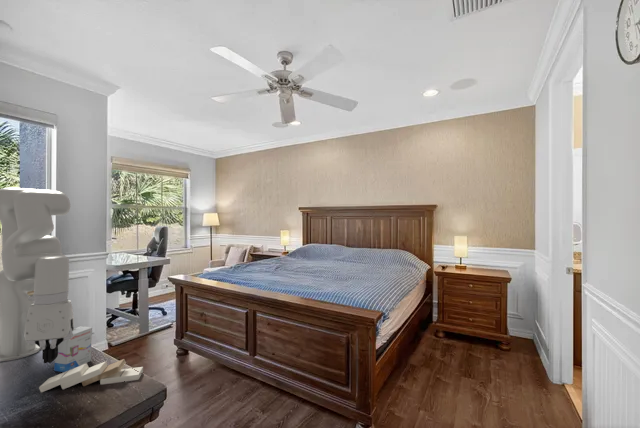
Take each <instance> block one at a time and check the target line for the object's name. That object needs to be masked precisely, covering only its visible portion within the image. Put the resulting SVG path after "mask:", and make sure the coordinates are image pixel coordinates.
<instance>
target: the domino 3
mask: <svg viewBox="0 0 640 428" xmlns="http://www.w3.org/2000/svg"><path fill="white" fill-rule="evenodd" d="M124 364H125V365H126V364H127V362H126V360H125V358H123V359H120V360H117V361H115V362H113V363H111V364H107V365H108V366H107V367H106V369H105V370H104V371H103V372H102V373H101V374H99V375H97V376H95V377H92V378H90V379H87V380H85V381H82V382H81V384H82V386H83V387H86V386H89V385H91V384H93V383H96V382H97V381H100V379H103V378H105V377H107V376H110V375H112V374H115V373H117V372H119V371H121V370H122V369H124V367H125V365H124Z"/></svg>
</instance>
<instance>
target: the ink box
mask: <svg viewBox="0 0 640 428" xmlns="http://www.w3.org/2000/svg"><path fill="white" fill-rule="evenodd" d="M72 332H73V335H74V336H73V338H71V339H69V340H66V341H63V342H61V343H60V344H59V345H58V356H57V358H56V359H55V360H54V367H53V369H54V371H55V372H60V373H61V372H62V373H63V372H66V371H68V370H71V369H73V368H76V367H78V366H81V365H83V364H86V363H87V364H88V363H89V362H91V360H92V359H91V358H92V338H93V327H90V326H83V325H81V326H78V327H74V330H73V331H72Z"/></svg>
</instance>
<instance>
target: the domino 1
mask: <svg viewBox="0 0 640 428" xmlns="http://www.w3.org/2000/svg"><path fill="white" fill-rule="evenodd" d="M88 368H90V367H89V365H88V362H87V363H85V364H83V365H81V366H78V367H76V368H73V369H71V370H68V371H66V372H62V373H61V372H60V373H59V374H56V375H54V376H51V377H49V378H47V380H46V381H44V382H43V383H42V384H41V385H40V386H39V387H38V388H39V391H40V393H44V392H46V391H48V390H51V389H53V388H56V387H58V386H61V384H63V383H66V382H68V381H70V380H73V379H75V378H78V377H80V376H82V375H83V374H84V372H85V371H86V370H87V369H88Z"/></svg>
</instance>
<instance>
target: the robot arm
mask: <svg viewBox="0 0 640 428" xmlns="http://www.w3.org/2000/svg"><path fill="white" fill-rule="evenodd" d="M70 210H71V201H70V199H69V197H68V195H67V194H66V193H65V192H62V191H59V190H52V189H39V188H37V189H36V188H25V187H22V188H21V187H3V188H0V223H1V248H2V249H1V254H0V255H1V263H2V270H1V271H0V362H8V361H14V360H19V359H22V358H23V359H24V358H27V357H29V356H31V355H34V354H36V353H38V352H39V351H40V350H41V352H42V355H41V356H42V360H43V364H44V365H45V364H47V363H48V364H51V363H53V362H55V359H56V358H57V356H58V345H59V344H60V343H61V342H63V341H66V340H69V339H71V338H73V336H74V335H73V332H72V331H73V330H74V328H75V317H74V309H73V303H72V300H70V299H69V285H70V284H69V283H70V281H69V280H70V279H69V278H70V276H69V275H70V258H69V257H68V256H66V254H63V251H62V250H63V249H62V242H61V241H60V239H59V238H58V237H57V236H54V235H50V234H51V233H52V232H53V231H54V229H55V227H54V221H53V218H52V216H66V215H68V213H70ZM29 292H33V294H32V295H30V294H28V293H29Z"/></svg>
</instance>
